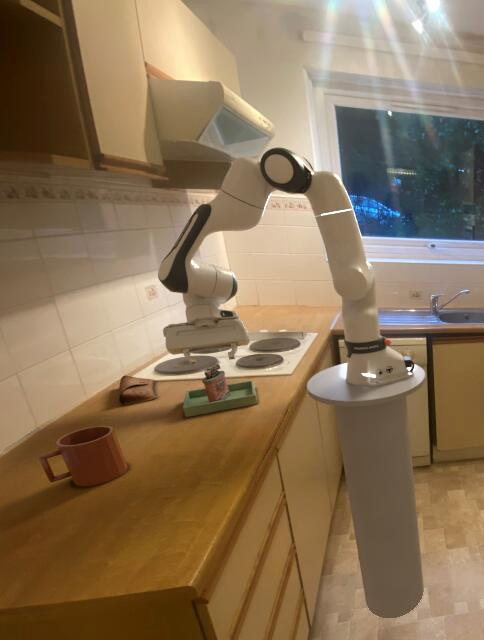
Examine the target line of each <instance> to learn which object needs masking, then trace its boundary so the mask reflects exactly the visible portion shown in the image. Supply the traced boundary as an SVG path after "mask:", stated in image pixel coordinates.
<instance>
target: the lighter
mask: <svg viewBox="0 0 484 640" xmlns="http://www.w3.org/2000/svg"><path fill="white" fill-rule="evenodd" d="M220 369H221V366H220V364H219V363H216V364H214V365H212V366H211V367H207V368H206V370H205V371H204V376H205V377H203V379H202V380H201V381H202V382H201V383H202V384H203V385H204V388H205V389H206V393H207V396H208V400H209V401H208V403H210V402H216V401H221V400H226V399H227V398H228V397H229V396H230V392H229V390H228V387H227V384H228V383H227V380H226V373H225V371H224V370H220Z"/></svg>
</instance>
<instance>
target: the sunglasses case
mask: <svg viewBox="0 0 484 640" xmlns="http://www.w3.org/2000/svg"><path fill="white" fill-rule="evenodd" d="M155 381H156V380H155V379H153V378H144V377H136V376H131V375H123V376H121V378H120V382H119V385H118V386H119V387H118V401H119V403H120V404H122V405H125V406H127V405H137V404H141V403H144V402H148V401H151V400H152V401H153V400H154V399H155V400H156V398H157V395H156V393H155V389H154V388H155V387H154V385H155Z"/></svg>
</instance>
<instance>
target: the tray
mask: <svg viewBox="0 0 484 640" xmlns="http://www.w3.org/2000/svg"><path fill="white" fill-rule="evenodd" d="M227 387H228V390H229V392H230V396H229V397H228V398H227V399H226V400H221V401H216V402H210V403H208V401H209V400H208V396H207V393H206V389H205V387H203V388H198V389H191V390H186V391H185V395H184V401H183V405H182V411H183V413H184V416H185V417H184V418H188V417H194V416H200V415H205V414H211V413H215V412H221V411H225V410H230V409H232V410H233V409H237V408H242V407H247V406H254V405H257V404H258V399H257V398H258V397H257V391H256V386H255V383H254V380H247V381H241V382H240V381H239V382H234V383H227Z"/></svg>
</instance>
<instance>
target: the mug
mask: <svg viewBox="0 0 484 640" xmlns="http://www.w3.org/2000/svg"><path fill="white" fill-rule="evenodd" d="M55 445H56V446H57V450H54V451H49V452H47V453H44V454H40V455H38V457H37V458H38V461H39V463H40V466H41V468H42V469H43V472H44V474H45V476H46V478H47V480H48V482H50V483H55V482H58V481H61V480H65V479H68V478H71V479H72V481H73V484H74V485H75V486H78V487H92V486H98V485H101V484H105V483H108V482H110V481H112V480H115V479H117V478H118V477H120V476H122V475H124V474H125V473H126V472H127V470H128V463H127V461H126V457H125V455H124V453H123V450H122V447H121V445H120V443H119V440H118V437H117V435H116V432H115V430H114V428H113V427H112V426H111V425H110V426H108V425H95V426H90V427H84V428H81V429H76V430H74V431H71V432H69V433H66V434H64V435H62V436H61V437H60V438H59V437H58V439H57V440H56V442H55ZM60 455H61V457H62V460H63V462H64V464H65V466H66V468H67V470H68V471H66V472H65V473H64V472H63V473H61V474H57V475H55V473H54V471H53V469H52V467H51V464H50V462H49V461H48V459H51V458H55V457H57V456H60Z"/></svg>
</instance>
